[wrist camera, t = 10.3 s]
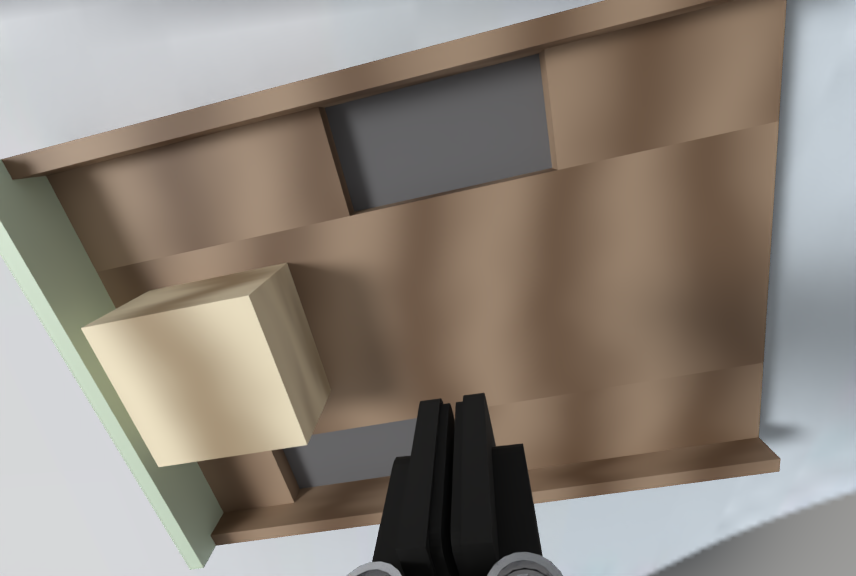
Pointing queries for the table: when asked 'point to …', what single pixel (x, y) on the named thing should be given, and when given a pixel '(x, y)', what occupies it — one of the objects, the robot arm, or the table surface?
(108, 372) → the block
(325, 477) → the trap pits
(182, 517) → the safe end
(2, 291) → the table surface
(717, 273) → the box
